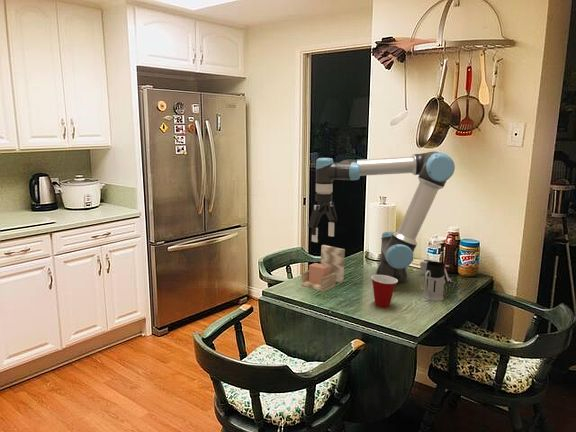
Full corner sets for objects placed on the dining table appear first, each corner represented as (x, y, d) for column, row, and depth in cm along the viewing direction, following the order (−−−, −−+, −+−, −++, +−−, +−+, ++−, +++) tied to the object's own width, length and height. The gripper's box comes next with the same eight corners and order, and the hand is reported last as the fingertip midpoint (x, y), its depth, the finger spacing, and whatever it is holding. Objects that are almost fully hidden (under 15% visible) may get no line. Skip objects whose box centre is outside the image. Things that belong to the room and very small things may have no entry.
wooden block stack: (343, 281, 220) (344, 249, 217) (323, 291, 207) (324, 256, 204) (322, 276, 228) (323, 244, 225) (301, 285, 215) (302, 251, 212)
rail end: (328, 282, 214) (329, 266, 212) (322, 285, 210) (323, 268, 209) (314, 279, 219) (315, 262, 217) (308, 281, 215) (309, 265, 214)
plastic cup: (401, 309, 189) (403, 281, 187) (377, 311, 186) (378, 283, 184) (388, 299, 199) (389, 272, 197) (365, 301, 196) (366, 274, 194)
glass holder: (446, 296, 204) (449, 263, 201) (433, 305, 193) (436, 271, 190) (427, 291, 209) (430, 259, 206) (413, 300, 199) (416, 266, 196)
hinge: (452, 282, 222) (448, 264, 219) (444, 286, 221) (440, 268, 218) (429, 272, 237) (425, 255, 234) (421, 276, 236) (417, 258, 233)
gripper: (331, 189, 219) (330, 232, 224) (300, 195, 200) (300, 242, 204) (345, 190, 215) (344, 235, 219) (315, 197, 196) (314, 245, 200)
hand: (323, 238), depth 212 cm, fingers open, 13 cm apart
